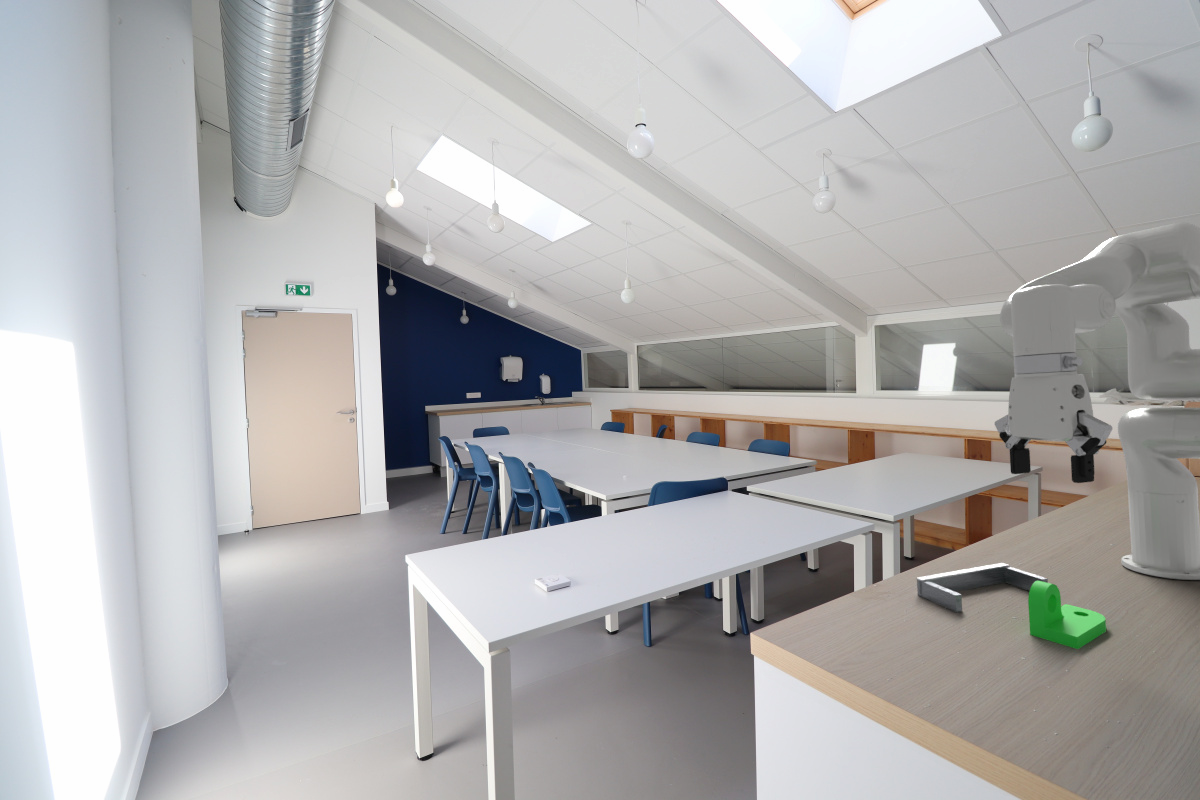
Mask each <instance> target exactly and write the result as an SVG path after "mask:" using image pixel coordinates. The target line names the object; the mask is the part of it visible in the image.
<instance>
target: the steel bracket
mask: <svg viewBox="0 0 1200 800" xmlns="http://www.w3.org/2000/svg"><path fill="white" fill-rule="evenodd" d="M1035 581H1042V582H1046V583H1049V582H1048V578H1046V577H1044V576H1040V575H1038V574H1035V573H1031V572H1029V571H1025V570H1022V569H1019V568H1015V567H1012V566H1010V564H1007V563H1005V562H1000V563H994V564H987V565H982V566H977V567H971V568H964V569H959V570H952V571H948V572H941V573H936V574H931V575H930V574H929V575H925V576H919V577H916V587H917V588H916V589H917V596H919V597H921V598H923V599H926V600H928V601H930V602H932V603H935V604H937V605H939V606H941V607H943V608H946V609H948V610H950V611H952V612H955V613H961V612H963V601H962V600H963V599H962V594H961V593H959V591H965V590H971V589H976V588H981V587H987V586H993V585H999V584H1004V583H1005V584H1009V585H1011V586H1013V587H1017V588H1019V589H1023V590H1026V591H1028V592H1029V591H1030V588H1031V586H1032V584H1033V583H1034V582H1035Z"/></svg>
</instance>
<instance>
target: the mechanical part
mask: <svg viewBox="0 0 1200 800" xmlns="http://www.w3.org/2000/svg"><path fill="white" fill-rule="evenodd" d="M1058 587H1059V586H1058V585H1056V584H1054V583H1050V582H1048V583H1046V582H1042V581H1035V582H1034V583H1033V584H1032V586H1031V588H1030V591H1028V597H1027V598H1028V599H1027V600H1028V601H1027V602H1028V618H1029V620H1028V621H1029V635H1030V636H1032V637H1033V636H1034V637H1037V638H1039V639H1043V640H1046V641H1049V642H1053V643H1056V644H1060V645H1062V646H1065V647H1070V648H1073V649H1075V650H1076V649H1077V650H1079V649H1081V648H1082V647H1084V646H1086V645H1087V644H1089V643H1090V642H1092V641H1093V640H1095V639H1097V638H1099V636H1102V634H1104V633H1106V632H1107V623H1106V622H1107V621H1106V617H1105V616H1104V615H1103V614H1102V613H1099V612H1098V611H1094V610H1091V609H1087V608H1083V607H1079V606H1075V605H1071V604H1066V603H1065V604H1063V605H1062V597H1061V591H1060V589H1059V588H1058Z"/></svg>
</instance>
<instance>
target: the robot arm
mask: <svg viewBox="0 0 1200 800" xmlns="http://www.w3.org/2000/svg"><path fill="white" fill-rule="evenodd" d="M1196 299H1197V300H1199V299H1200V226H1198V225H1195V224H1193V223H1189V222H1175V223H1171V224H1166V225H1160V226H1156V227H1153V228H1147V229H1142V230H1137V231H1133V232H1128V233H1124V234H1121V235H1120V234H1119V235H1117V236H1113V237H1111V238H1109V239H1107V240H1105V241H1103V242H1102V243H1101V244H1099V245H1098V246H1097V247H1096V248H1095V249H1094V250H1093V249H1092V251H1091V252H1090V253H1089V254H1087V255H1086V256H1085V257H1083V259H1081V260H1080V261H1078V262H1075V263H1073V264H1070V265H1068V266H1065V267H1062V268H1061V269H1058V270H1056V271H1054V272H1051V273H1048V274H1046V275H1043V276H1041V277H1038V278H1036V279H1034V280H1031V281H1030V282H1027V283H1026V284H1024V285H1021V286H1020V287H1019V288H1017V290H1015V291H1014V292H1013V293H1012V294H1011V295H1009V296H1008V297H1007V299H1005V301H1004V303H1003V305H1002V307H1001V309H1000V314H999V321H1000V325H1001V328H1002V329H1003V331H1004V332H1005V333H1006V334H1007V335H1009V336H1010V337H1012V348H1013V349H1012V350H1013V351H1012V352H1013V370H1014V372H1013V373H1014V377H1011V380H1010V387H1009V395H1008V396H1009V397H1008V411H1007V412H1008V414H1007V415H1004V416H1003V417H1001V418H999V419H997V420H995V421H994V427H995V429H996V430H997V432H998V434H999V439H1001V441H1002V442H1003V443H1004V446H1005V448H1006V450H1009V463H1010V473H1011V474H1012V475H1022V474H1028V473H1030V472H1031V455H1030V454H1031V453H1030V452H1031V450H1030V448H1028V447H1026V446H1027V445H1028V444H1029V443H1030V441H1031V440H1033V441H1046V442H1064V443H1065V444H1066V445H1067V446H1068V447H1069V448H1070V450H1072V451H1073V453H1074V454H1071V456H1070V467H1071V468H1070V471H1071V481H1072V482H1073V483H1075V484H1084V483H1091V482H1094V481H1095V457H1094V456H1095V455H1098V454H1099V453H1100V452H1099V451H1100V450H1101V449H1102V448H1103V447H1104V446H1106V444H1107V440H1108V438H1109V437H1110V435H1111V433H1112V431H1113V426H1112V425H1111V424H1109V423H1107V422H1105V421H1103V420H1101V419H1098V418H1097V417H1096V416H1094V410H1093V404H1092V399H1091V394H1090V390H1089V386H1088V384H1087V380H1086V377H1085V375H1084V373H1078V367H1079V366H1080V367H1081V366H1082V365H1083V363H1084V358H1082V357H1081V356H1077V344H1076V342H1077V341H1076V334H1082V333H1083V334H1084V333H1089V332H1093V331H1097V330H1099V329H1103V328H1104V327H1105V326H1107V325H1108V324H1109V323H1110V322H1111V321H1112V319H1113V317H1114V315H1115V314H1116V316H1117V317H1118V318H1119V320H1121V322H1122V324H1123V326H1124V329H1125V331H1126V337H1127V344H1126V345H1127V380H1128V381H1127V382H1128V388H1129V391H1130V393H1131V394H1132V396H1134V397H1135V398H1137V399H1141V400H1145V401H1146V400H1147V401H1200V348H1195V349H1193V348H1191V344H1190V325H1189V323H1188V321H1187V320H1186V319H1185V318H1184V317H1183V316H1182V315H1181V314H1180V313H1179V312H1177V311H1176V310H1175V309H1173V308H1172V307H1170V306H1169V305H1167V304H1165V303H1173V302H1181V301H1189V300H1190V301H1191V300H1196ZM1117 434H1118V439H1119V442H1120V445H1121V448H1122V452H1123V455H1124V456H1123V457H1124V462H1125V469H1126V482H1127V496H1128V497H1127V500H1128V515H1129V517H1128V518H1129V529H1130V530H1129V533H1130V547H1131V548H1130V550H1131V551H1130V552H1131V553H1130V554H1126V555H1124V556H1122V557H1121V558H1120V561H1121V562H1120V563H1121V565H1122V566H1123V567H1125V568H1126V569H1128V570H1131V571H1134V572H1136V573H1138V574H1139V573H1140V574H1144V575H1148V576H1153V577H1158V578H1164V579H1172V580H1173V579H1174V580H1186V581H1187V580H1188V581H1200V510H1199V489H1198V482H1197V479H1196V478H1195V475H1194V474H1193V473H1192V472H1191V471H1190V469H1189V468H1187V467H1186V466H1185V465H1184V464H1183V463H1182V462H1181V461H1180V460H1179V459H1192V460H1193V459H1195V460H1196V459H1197V460H1200V407H1183V406H1182V407H1179V406H1178V407H1177V406H1176V407H1172V406H1171V407H1162V406H1161V407H1143V408H1137V409H1133V410H1130V411H1128V412H1126V413H1124V414H1123V415H1122V416H1121V417H1120V418H1119V420H1118V423H1117Z"/></svg>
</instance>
